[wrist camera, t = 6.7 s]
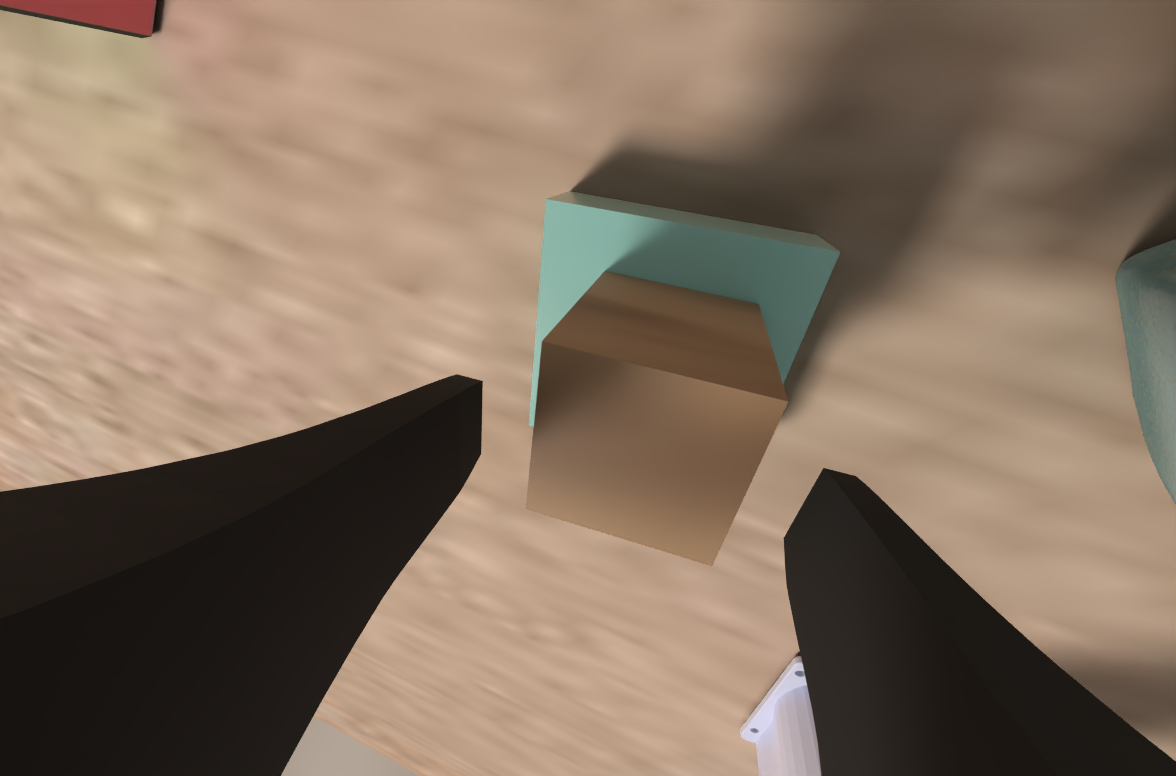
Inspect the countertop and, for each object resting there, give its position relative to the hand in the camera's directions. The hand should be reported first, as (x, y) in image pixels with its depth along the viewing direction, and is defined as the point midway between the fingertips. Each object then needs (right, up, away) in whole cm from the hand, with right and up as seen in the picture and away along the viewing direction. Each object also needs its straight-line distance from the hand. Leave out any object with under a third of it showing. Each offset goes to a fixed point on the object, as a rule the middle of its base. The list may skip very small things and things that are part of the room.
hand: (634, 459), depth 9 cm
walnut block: (+1, +3, +4) cm, 5 cm away
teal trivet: (+2, +4, +7) cm, 8 cm away
